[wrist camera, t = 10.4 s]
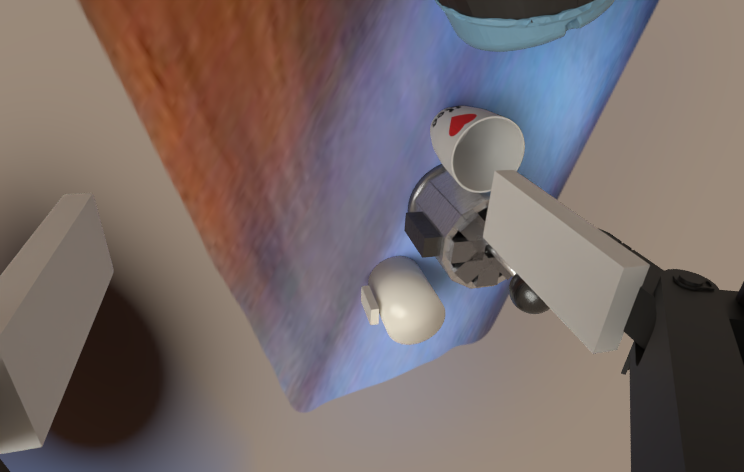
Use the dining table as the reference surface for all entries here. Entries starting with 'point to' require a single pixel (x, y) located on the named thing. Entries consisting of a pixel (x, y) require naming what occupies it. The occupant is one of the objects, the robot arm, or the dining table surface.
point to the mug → (402, 301)
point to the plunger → (516, 283)
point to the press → (452, 229)
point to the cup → (476, 145)
